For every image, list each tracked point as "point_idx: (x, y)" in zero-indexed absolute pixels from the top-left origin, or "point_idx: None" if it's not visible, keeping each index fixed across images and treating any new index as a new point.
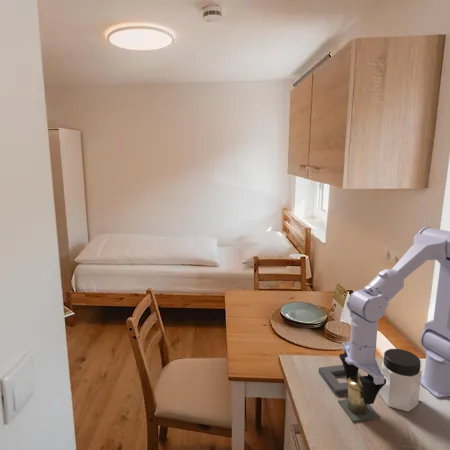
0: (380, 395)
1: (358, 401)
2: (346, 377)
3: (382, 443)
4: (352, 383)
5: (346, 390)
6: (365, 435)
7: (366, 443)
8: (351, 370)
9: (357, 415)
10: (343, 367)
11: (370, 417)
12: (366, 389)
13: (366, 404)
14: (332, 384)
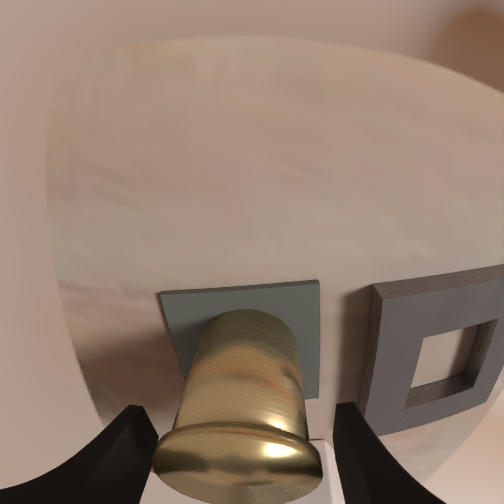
0: (313, 442)
1: (186, 385)
2: (359, 427)
3: (77, 340)
4: (220, 456)
5: (372, 351)
6: (98, 305)
7: (64, 289)
8: (356, 496)
9: (196, 331)
10: (488, 376)
11: (185, 373)
12: (35, 478)
13: (127, 407)
14: (428, 298)
